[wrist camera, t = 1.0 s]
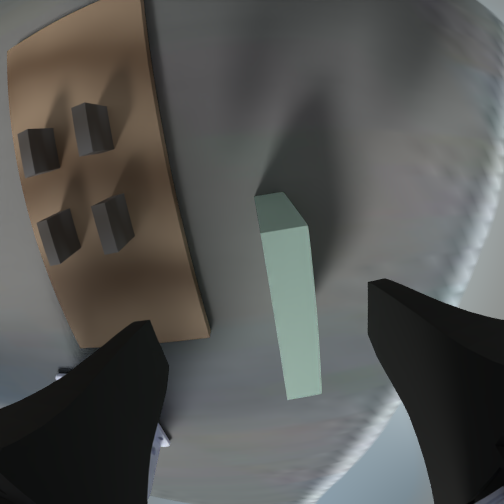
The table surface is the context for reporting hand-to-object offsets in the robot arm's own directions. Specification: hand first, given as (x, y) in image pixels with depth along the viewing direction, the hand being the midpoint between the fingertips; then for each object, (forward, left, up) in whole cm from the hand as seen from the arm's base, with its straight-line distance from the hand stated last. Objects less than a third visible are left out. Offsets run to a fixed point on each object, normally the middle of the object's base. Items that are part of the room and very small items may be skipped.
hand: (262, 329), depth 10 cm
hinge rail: (+6, +9, -8) cm, 13 cm away
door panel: (-1, -1, -9) cm, 9 cm away
